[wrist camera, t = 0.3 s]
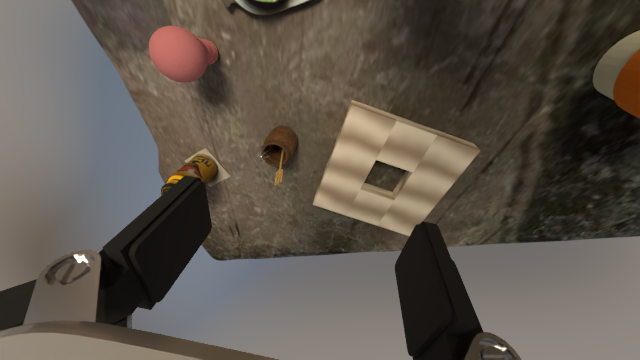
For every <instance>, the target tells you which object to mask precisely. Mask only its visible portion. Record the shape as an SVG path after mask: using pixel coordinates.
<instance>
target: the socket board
mask: <svg viewBox="0 0 640 360" xmlns="http://www.w3.org/2000/svg"><path fill="white" fill-rule="evenodd" d="M479 152H480V150H479V149H478V148H477V146H476V145H475V144H474V143H471V142H469V141H466V140H463V139H460V138H457V137H455V136H452V135H449V134H446V133H443V132H441V131H438V130H435V129H432V128H429V127H427V126H424V125H421V124H418V123H415V122H413V121H410V120H407V119H404V118H402V117H399V116H396V115H393V114H390V113H388V112H385V111H382V110H379V109H376V108H374V107H371V106H368V105H365V104H362V103H360V102H357V101H354V100H352V101H351V103H350V106H349V109H348V111H347V114H346V116H345V119H344V122H343V124H342V127H341V129H340V132H339V135H338V137H337V140H336V142H335V145H334V148H333V150H332V153H331V155H330V158H329V161H328V163H327V166H326V168H325V171H324V174H323V176H322V179H321V181H320V184H319V187H318V189H317V192H316V194H315V197H314V201H313V205H315V206H318V207H321V208H324V209H327V210H330V211H334V212H337V213H340V214H343V215H346V216H349V217H352V218H355V219H358V220H361V221H364V222H367V223H370V224H373V225H377V226H380V227H383V228H386V229H389V230H392V231H395V232H398V233H401V234H404V235H407V236H410V235H411V233H412V231H413V229H414V227H415V225H416V224H420V223H421V222H422V221H423V220H424V219H425V218H426V216H427V215H428V214H429V213H430V211H431V210H432V209H433V208H434V207H435V205H436V204H437V203H438V202H439V201H440V199H441V198H442V197H443V196H444V194H445V193H446V192H447V191H448V190H449V188H450V187H451V186H452V185H453V184H454V182H455V181H456V180H457V179H458V177H459V176H460V175H461V174H462V173H463V171H464V170H465V169H466V168H467V166H468V165H469V164H470V163H471V162H472V160H473V159H474V158H475V157H476V156H477V154H478V153H479ZM376 160H378V161H381V162H383V163H386V164H389V165H392V166H395V167H398V168H401V169H404V170H406V172H405V173H404V175H403V176H402V178H401V179H400V181H399V182H398V184H397V186H396V187H395V189H394V190H393V192H391V191H388V190H385V189H382V188H379V187H376V186H373V185H370V184H367V183H364V182H365V180H366V178H367V176H368V174H369V172H370V170H371V168H372V166H373V165H374V163H375V161H376Z"/></svg>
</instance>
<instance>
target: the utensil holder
mask: <svg viewBox="0 0 640 360" xmlns="http://www.w3.org/2000/svg"><path fill="white" fill-rule="evenodd" d="M297 143H298V139H297V136H296V134H295V132H294V131H293V130H291V129H290V128H288V127H285V126H279V127H276V128H275V129H273V130H272V131H271V132H270V134H269V135H268V136H267V138H266V139H265V141H264V145H263V147H262V149H261V153H260V154H262V155H260V156H262V157H263V160H264V161H265V162H266V163H268V164H269V165H271V166H276V167H278V166H280V167H279V170H278V171H277V172H276V178H275V185H276V183H277V184H279V180H280V182H282V176H283V169H281V168H282V165H284V164H285V163H286V162H287V161H288V160H289V159H290V158H291V157H292V155H293V153H294V151H295V149H296V147H297ZM260 148H261V147H260ZM259 151H260V150H259ZM258 155H259V154H258ZM258 155H257V156H258ZM260 156H259V157H260ZM260 158H261V157H260ZM261 159H262V158H261ZM260 161H262V160H260ZM280 175H281V176H280ZM277 178H278V181H277Z"/></svg>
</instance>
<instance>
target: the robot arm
mask: <svg viewBox="0 0 640 360" xmlns="http://www.w3.org/2000/svg"><path fill="white" fill-rule="evenodd" d="M211 227H212V224H211V218H210V212H209V206H208V200H207V194H206V188H205V183H204V182H202V181H201V179H200V178H198V177H193V176H187V175H186V176H184V177H182V178H181V179H180V180H179V181H178V182H177V183H175V184H174V185H173V186H172V187H171V188H170V189H169V190H168V191H166V192H165V193H164V194H163V195H162V196H161V197H160V198H159V199H157V200H156V201H155V202H154V203H153V204H152V205H150V206H149V207H148V208H147V209H146V210H145V211H144V212H142V214H140V215H139V216H138V217H137V218H136V219H134V220H133V221H132V222H131V223H130V224H129V225H128V226H126V227H125V228H124V229H123V230H122V231H121V232H120V233H119V234H117V235H116V236H115V237H114V238H113V239H112V240H110V242H108V243H107V244H106V245H105V246H104V247H103V250H102V251H100V252H99V253H97V252H95V251H92V250H81V251H75V252H72V253H69V254H66V255H64V256H62V257H60V258H58V259H56V260H54V261H53V262H51V263H50V264H49V265H47V266H46V267H45V268H44V269H43V270H42V271H41V273H40V274H39V276H38V278H37V279H36V280H33V281H30V282H27V283H24V284H21V285H18V286H15V287H12V288H9V289H6V290H3V291H0V360H278V359H274V358H269V357H264V356H260V355H255V354H250V353H246V352H241V351H237V350H231V349H227V348H223V347H218V346H213V345H208V344H204V343H199V342H194V341H189V340H185V339H180V338H175V337H170V336H165V335H161V334H156V333H151V332H146V331H141V330H135V329H132V313H133V312H134V311H135V309H136V308H137V307H140V308H145V309H149V310H151V309H152V308H153V306H154V305H155V304H156V302H160V301H161V300H162V299H163V298H164V296H165V295H166V294H167V292H168V291H169V289H170V288H171V286H172V285H173V284H174V282H175V281H176V280H177V278H178V277H179V275H180V274H181V272H182V271H183V270H184V268H185V267H186V265H187V264H188V263H189V261H190V260H191V258H192V257H193V255H194V254H195V253H196V251H197V250H198V248H199V247H200V246H201V244H202V243H203V241H204V240H205V239H206V237H207V236H208V234H209V233H210V231H211ZM395 273H396V280H397V285H398V292H399V299H400V305H401V311H402V318H403V324H404V329H405V330H404V331H405V337H406V343H407V349H408V353H409V355H410V356H413V360H521V358H520V357H519V356H518V354H517V353H516V352H515V350H514V349H513V348H512V347H511V346H510V345H509V344H508V343H507V342H506V341H504V340H503V339H501V338H499V337H498V336H496V335H494V334H491V333H487V332H483V330H482V328H481V325H480V323H479V320H478V318H477V315H476V313H475V311H474V308H473V306H472V303H471V301H470V299H469V296H468V294H467V291H466V289H465V286H464V284H463V281H462V279H461V277H460V274H459V272H458V269H457V267H456V265H455V263H454V261H453V260H452V259H451V257H450V255H449V252H448V250H447V247H446V245H445V242H444V240H443V237H442V235H441V232H440V230H439V227H438V226H437V225H436V224H433V223H427V222H421V223H420V224H416V225H415V227H414V229H413V231H412V233H411V235H410V237H409V239H408V240H407V242H406V244H405V246H404V248H403V250H402V252H401V254H400V256H399V258H398V260H397V261H396V264H395Z"/></svg>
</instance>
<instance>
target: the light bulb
mask: <svg viewBox="0 0 640 360" xmlns="http://www.w3.org/2000/svg"><path fill="white" fill-rule="evenodd" d="M149 53H150V56H151V59H152V61H153V63H154V65H155V66H156V68H157V69H158V70H159V71H160V72H161V73H162V74H164V75H165V76H166V77H168V78H170V79H172V80H174V81H178V82H192V81H195V80H197V79H199V78H200V77H201V76H202V75H203V74H204V72H205V70H206V67H207V65H209V64H213V63H214V62H216V60H217V59H218V51H217V48H216V46H215V45H214V44H213V43H212V42H211V41H209V40H206V39H201V38H199V37H196V36H195V35H194V34H192V33H191V32H190V31H188V30H186V29H184V28H181V27H178V26H165V27H162V28H160V29H158V30H157V31H156V32H155V33H154V34H153V35H152V37H151V39H150V42H149Z"/></svg>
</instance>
